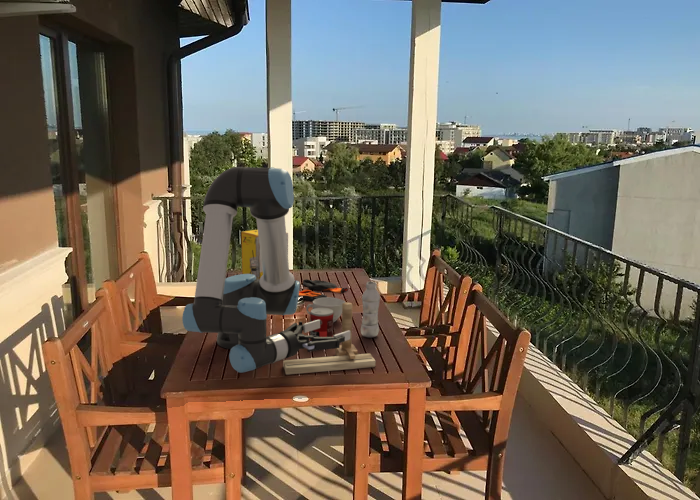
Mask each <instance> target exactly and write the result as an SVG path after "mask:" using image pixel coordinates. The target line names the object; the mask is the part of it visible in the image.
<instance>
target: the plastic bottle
mask: <svg viewBox="0 0 700 500" xmlns="http://www.w3.org/2000/svg"><path fill="white" fill-rule="evenodd" d="M365 288H366V289H365V291H364V292H363V293H362V296H361V300H362V301H361V302H362V321H361V325H360V333H361V335H362V337H364V338H375V337H377V336H378V334H379V331H380V327H379V317H378V315H379V306H380V301H381V300H380V299H381V295H380V293H379V292H378V290H377V288H378V287H377V282H375V281H366V283H365Z"/></svg>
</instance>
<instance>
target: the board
mask: <svg viewBox="0 0 700 500" xmlns="http://www.w3.org/2000/svg"><path fill="white" fill-rule="evenodd" d="M282 360H283V361H282V363H283V369H284V373H285V375H295V374H296V375H298V374H308V373H318V372H321V373H322V372H333V371H341V370H354V369H366V368H374V367H376V363H377V361H376V360H375V358H374V357H373V355H372V354H371V353H361V354H360V353H358V354H357V355H355V359H350V358H349V356H348V355H345V356H336V355H334V356H322V357H321V356H320V357H310V358H299V359H298V358H296V359H282Z"/></svg>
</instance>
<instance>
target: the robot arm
mask: <svg viewBox="0 0 700 500" xmlns="http://www.w3.org/2000/svg"><path fill="white" fill-rule="evenodd" d="M294 198H295V196H294V184H293V180H292V177H291V174H290V172H289V171H288V170H286V169H285V168H278V167H277V168H276V167H273V166H272V167H253V166H252V167H248V166H246V167H244V166H234V167H233V166H232V167H231V168H228V169H226V170H223V172H222V173H220V174H219V175H218V176H216V178H215V179H214V180H213V181H212V183H211V184H210V186H209V188H208V190H207V191H206V194H205V197H204V200H203V207H202V210H203V212H204V213H205V220H204V227H203V235H202V242H201V248H200V249H201V250H200V256H199V263H198V271H197V278H196V285H195V292H194V301H193V303H188V304H186V305H185V307H184V309H183V311H182V320H181V321H182V327H183V329H185V330H186V331H188V332H194V333H196V332H197V333H200V334H203V333H211V334H213V333H216V334H217V335H216V344H217V345H218V346H219V347H221V348H223V349H229V350H230V351H229V354H228V358H229V362H230V365H231V367H232V368H233V370H235V371H236V372H237V373H246V372H250V371H255V369H256V370H257V369H259V368H261V367H264V366H267V365H271V364H275V363H276V362H279V361H282V360H285V359H288V358H291V357H294V356H296V355H297V354H298V352H299V350H303V349H306V350H307V352H308V353H312V352H316V351H323V350H333V349H334V350H335V348H339V347H340V345H341V344H342V342H344V341H347V340H350V331H349V330H348V331H345V332H342V331H341V332H339V333H335V334H333V337H314V336H312V335H310V334H309V335H307V334H306V333H310V331H312V330H315V329H319V328H320V320H315V321H312V322H310V321H309V322H306V323H304V322H303V321H298V323H297V322H293V323H292V324H290V325H289V326H288V327H286V329H284V330H281V331H280V332H278V333H273V334H271V335H268V336H267V318H268V315H275V316H286V315H288V316H292V315H294V314H295V313H296V312H297V308H298V304H299V303H298V302H299V299H298V297H299V291H301V290H300V288H301V282H300V281H299V280H296V279H295V276H294V274H293V273H292V272H290V266H289V263H290V262H289V250H288V251H287V239H286V233H287V229H286V215H288V213H289V212H290V209H291V208H293V205H294V201H295V199H294ZM238 208H249V211H250V215H251V216H252V217H253V218H255V219H256V227H257V228H256V229H257V230H258V236H259V244H260V253H261V261H262V269H263V275H262V276H261V278H260V280H256V276H255V275H254V274H242V273H240V274H235V275H231V276H228V277H226V276H227V267H228V260H229V252H230V251H229V250H230V243H231V234H232V228H233V219H234V218H235V217H236V216H237V215H238V214H237V213H238ZM305 334H306V335H305ZM310 339H311V340H310Z"/></svg>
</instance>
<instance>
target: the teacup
mask: <svg viewBox="0 0 700 500" xmlns="http://www.w3.org/2000/svg"><path fill="white" fill-rule="evenodd" d="M343 303H346V301H345V300H343V299H340V298H339V297H334V296H333V297H332V296H331V297H330V296H329V297H328V296H327V297H324V298H318V299H314V301H312V303H308V304H307V306H306V309H305V311H306V312H307V314H308V315H310V312H311V311H309V308H312V309H315V308H328V309H331V310H333V323H335V322H336V321H337V320H338V319H339V318H340V317H342V304H343Z"/></svg>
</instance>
